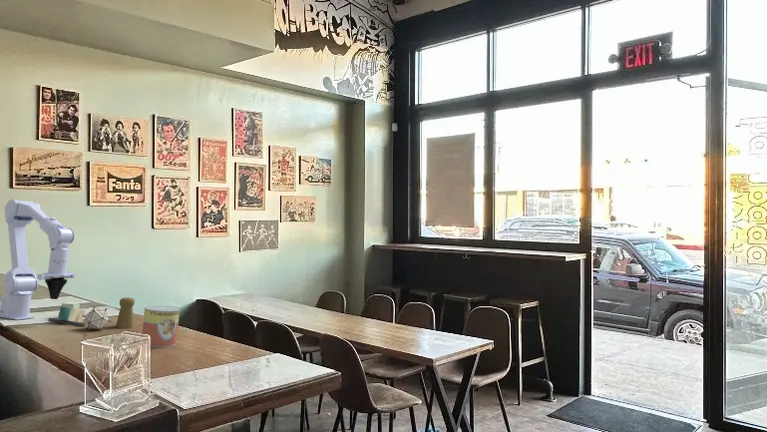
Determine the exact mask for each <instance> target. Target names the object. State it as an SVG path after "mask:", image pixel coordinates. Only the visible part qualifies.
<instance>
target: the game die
mask: <svg viewBox="0 0 767 432" xmlns="http://www.w3.org/2000/svg"><path fill="white" fill-rule="evenodd" d="M107 310H108V307H105V309H102V308H96V306H93V308H92V309H91V310H90V311H89V312H87V314H86V313H85V315H82V316H83V317H84V320H85V324H86V326H87V327H86V330H88V329H95V330H98V331H99V332H101V328H103V327H104V326H106V325H107V324H108V323H111V322H112V320H109V316H108V313H107Z"/></svg>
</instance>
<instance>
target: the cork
mask: <svg viewBox="0 0 767 432" xmlns="http://www.w3.org/2000/svg"><path fill="white" fill-rule="evenodd" d="M135 302H136V301H135V299H134V298H132V297H122V298H120V300H119V306H120V307H119V311H118V316H117V320H116V322H115V323H116V324H115V328H117V329H133V328H134V317H133V316H134V314H133V313H134V312H133V310H134V309H133V307H134V305H135Z"/></svg>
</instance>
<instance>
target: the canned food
mask: <svg viewBox="0 0 767 432" xmlns="http://www.w3.org/2000/svg"><path fill="white" fill-rule="evenodd" d="M180 310H181V308H179V307H175V306H170V305H147V306H144V312H143V321H142V328H141V329H142V331H141V335H142V334H148V335H150V337H151V347H150V348H170V347H174V346H176V345H177V337H178V329H179V328H178V327H179V320H180V319H179V318H180Z"/></svg>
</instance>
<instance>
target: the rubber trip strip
mask: <svg viewBox="0 0 767 432" xmlns="http://www.w3.org/2000/svg"><path fill="white" fill-rule="evenodd" d="M57 318H58V317H56V318H55V317H48V320H47V321H48V322H54V323H60V324H64V325H65V324H66V325H73V326H77V327H86V322H75V321H67V320H61V319H57Z"/></svg>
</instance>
